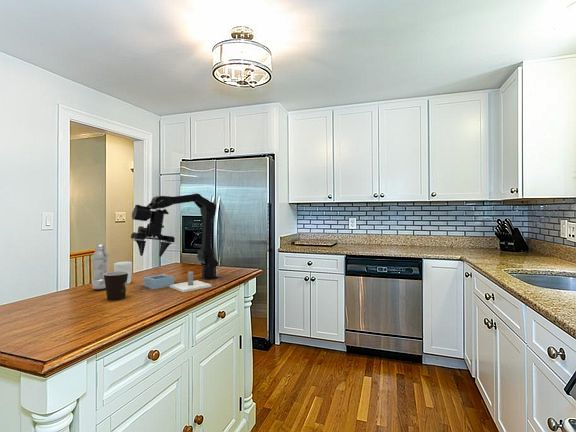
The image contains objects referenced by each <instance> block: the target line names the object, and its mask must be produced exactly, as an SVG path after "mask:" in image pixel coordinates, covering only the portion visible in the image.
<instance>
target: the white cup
mask: <svg viewBox="0 0 576 432" xmlns="http://www.w3.org/2000/svg"><path fill="white" fill-rule="evenodd" d="M132 268H133V262H132V261H119V262H118V261H117V262H114V263H113V272H118V271H125V272H128V278H127V285H129V284H131V282H132V274H133V273H132V270H133V269H132Z"/></svg>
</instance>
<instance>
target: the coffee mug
mask: <svg viewBox="0 0 576 432" xmlns="http://www.w3.org/2000/svg"><path fill="white" fill-rule="evenodd" d="M127 278H128V272H125V271H118V272H114V271H110V272H108V273H105V274H104V280H105V287H106V288H105V293H106V300H107V301H121V300H123V299H125V298H126V294H127V285H128V284H127Z"/></svg>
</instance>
